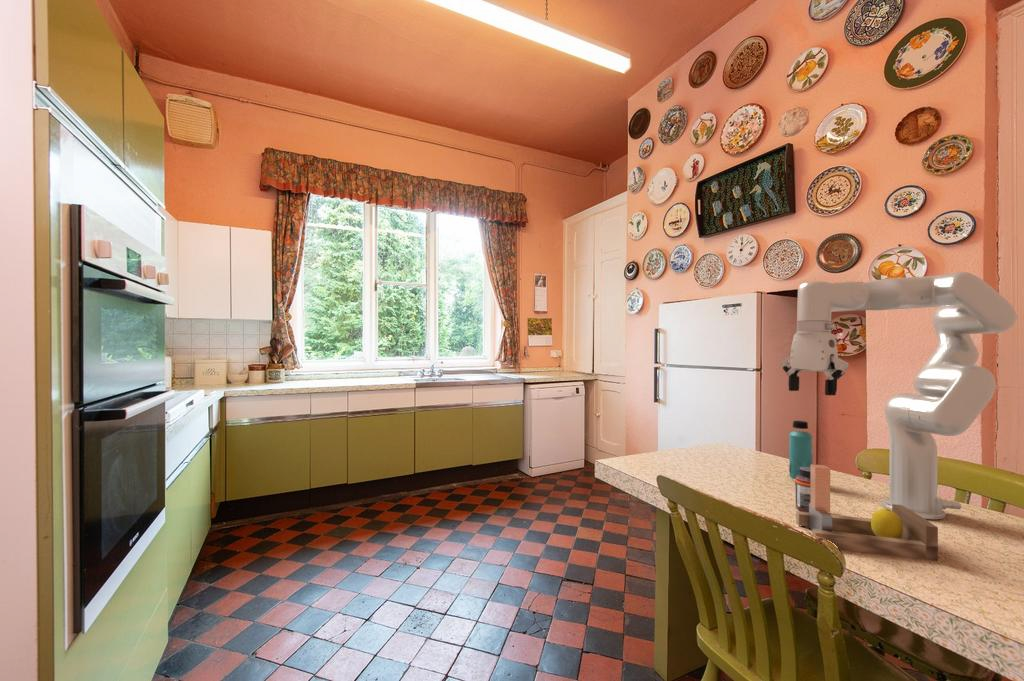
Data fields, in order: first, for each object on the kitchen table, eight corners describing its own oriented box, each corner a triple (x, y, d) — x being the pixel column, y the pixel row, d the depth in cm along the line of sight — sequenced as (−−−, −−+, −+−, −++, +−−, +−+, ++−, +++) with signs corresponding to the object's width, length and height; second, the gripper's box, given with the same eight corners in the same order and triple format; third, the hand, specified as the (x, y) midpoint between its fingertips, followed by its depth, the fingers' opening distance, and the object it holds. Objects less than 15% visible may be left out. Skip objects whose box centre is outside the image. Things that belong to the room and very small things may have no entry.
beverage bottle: (817, 486, 138) (817, 422, 138) (796, 486, 138) (796, 422, 138) (804, 479, 145) (804, 419, 145) (784, 479, 145) (784, 419, 145)
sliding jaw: (820, 528, 106) (820, 462, 106) (834, 542, 98) (834, 471, 98) (806, 526, 107) (806, 461, 107) (819, 541, 99) (819, 470, 99)
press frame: (902, 534, 103) (902, 504, 104) (937, 560, 91) (937, 527, 91) (796, 523, 110) (796, 495, 110) (815, 546, 97) (815, 515, 97)
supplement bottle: (801, 504, 122) (801, 464, 122) (825, 511, 117) (826, 469, 117) (791, 509, 119) (791, 467, 119) (815, 516, 114) (816, 473, 114)
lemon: (909, 549, 96) (909, 512, 96) (884, 548, 96) (884, 512, 96) (888, 537, 102) (888, 503, 102) (864, 537, 102) (864, 503, 102)
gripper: (858, 328, 109) (856, 396, 109) (792, 329, 126) (790, 389, 126) (838, 327, 107) (836, 397, 107) (773, 328, 123) (771, 389, 123)
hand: (811, 392), depth 116 cm, fingers open, 9 cm apart
